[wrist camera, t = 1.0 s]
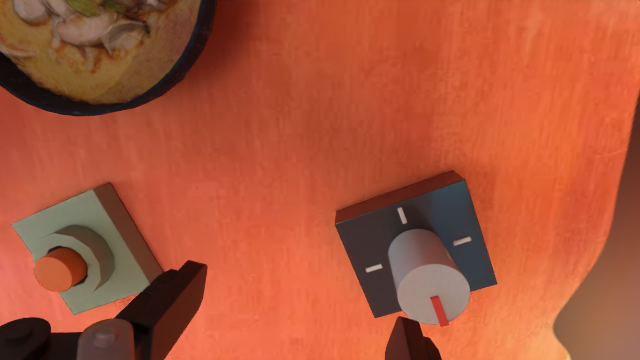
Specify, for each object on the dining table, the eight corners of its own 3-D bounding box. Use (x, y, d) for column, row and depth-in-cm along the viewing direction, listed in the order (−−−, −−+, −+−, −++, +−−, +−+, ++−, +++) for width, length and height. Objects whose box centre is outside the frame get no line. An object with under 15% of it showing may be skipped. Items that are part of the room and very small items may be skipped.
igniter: (43, 254, 29) (24, 264, 27) (73, 242, 28) (56, 251, 27) (65, 286, 30) (48, 297, 28) (95, 275, 29) (79, 286, 27)
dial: (379, 239, 26) (388, 278, 21) (436, 220, 25) (460, 257, 20) (398, 286, 27) (411, 335, 22) (453, 270, 27) (480, 317, 21)
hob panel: (335, 210, 29) (334, 224, 26) (453, 169, 27) (466, 179, 24) (372, 297, 32) (375, 319, 28) (483, 265, 30) (498, 285, 26)
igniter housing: (32, 215, 32) (-10, 232, 28) (109, 182, 30) (75, 195, 27) (90, 301, 35) (58, 328, 31) (165, 275, 33) (141, 300, 29)
